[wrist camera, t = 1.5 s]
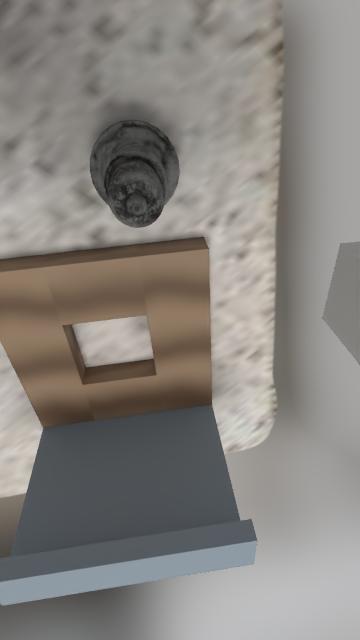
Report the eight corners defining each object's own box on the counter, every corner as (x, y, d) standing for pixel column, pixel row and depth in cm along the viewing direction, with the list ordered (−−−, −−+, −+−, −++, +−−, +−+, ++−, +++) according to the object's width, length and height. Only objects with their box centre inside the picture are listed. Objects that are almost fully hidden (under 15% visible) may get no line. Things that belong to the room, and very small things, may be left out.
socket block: (-20, 261, 28) (-32, 275, 26) (203, 237, 29) (208, 248, 27) (47, 409, 39) (43, 427, 37) (207, 388, 40) (211, 404, 38)
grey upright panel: (36, 396, 38) (-22, 585, 23) (211, 373, 39) (257, 540, 25) (48, 421, 40) (3, 605, 26) (212, 399, 41) (253, 564, 27)
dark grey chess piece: (132, 94, 23) (133, 102, 13) (189, 162, 26) (225, 211, 16) (78, 160, 25) (42, 210, 15) (137, 216, 27) (139, 289, 18)
